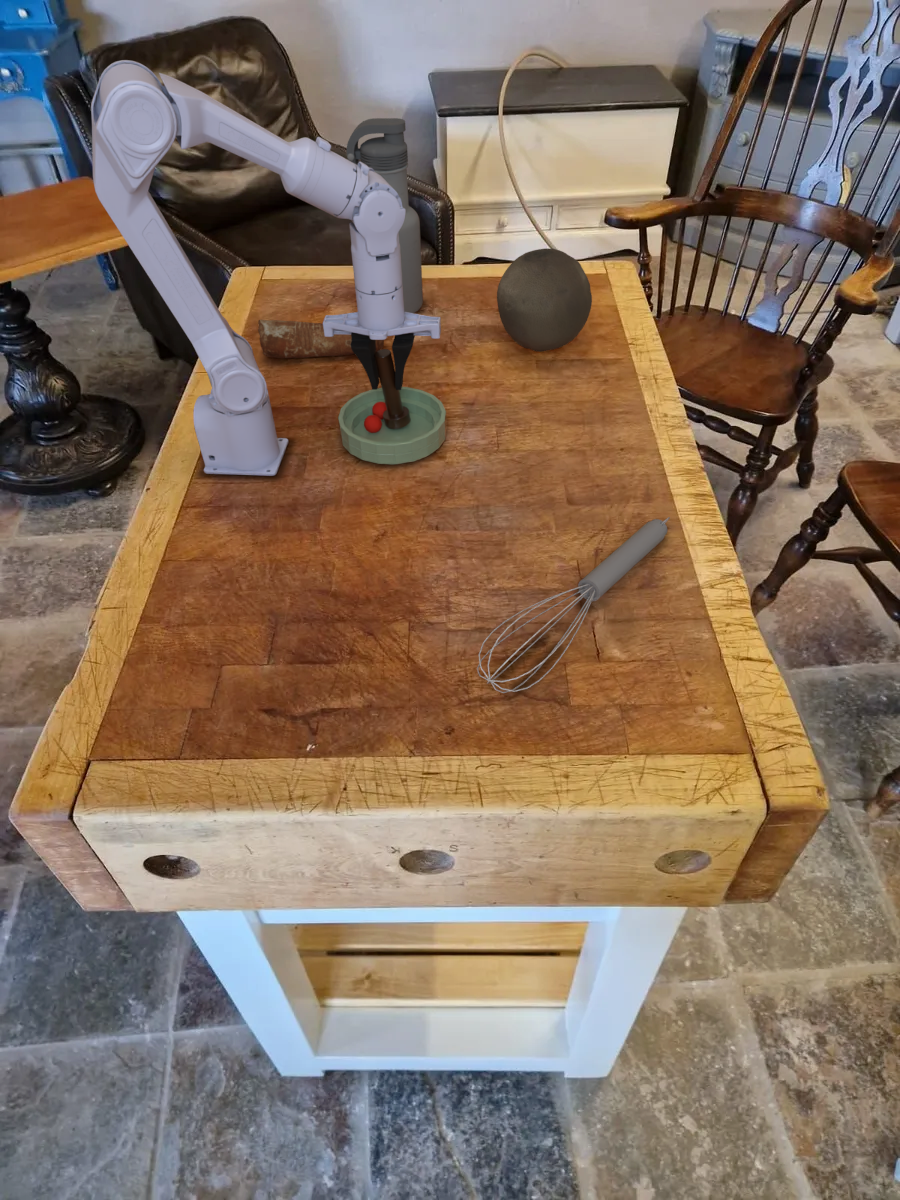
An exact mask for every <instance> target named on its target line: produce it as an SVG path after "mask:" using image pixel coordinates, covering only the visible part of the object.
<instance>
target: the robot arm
mask: <svg viewBox="0 0 900 1200" xmlns="http://www.w3.org/2000/svg"><path fill="white" fill-rule="evenodd" d="M158 75H159V77H160V79H161V80H162V83H163V84H162V83H161V81H160V79H159V78H158V76H157V75H156V74H155V73H154V72H153V71H152V70H151V69H150V68H148V67H147V66H145V65H144V64H142V63H140V62H138V61H135V60H128V59H121V60H117V61H114V62H112V63H111V64H109V65H108V66H107V67H106V68H105V69H104V70H103V71H102V73H101V75H100V76H99V79H98V82H97V85H96V87H95V91H94V94H93V97H92V99H91V103H90V111H91V114H90V115H91V134H92V135H91V146H92V149H91V150H92V151H91V152H92V153H91V154H92V181H93V186H94V187H93V188H94V191H95V194H96V196H97V198H98V200H99V202H100V203H101V205H102V206H103V208H104V209H105V211H106V212H107V214H108V216H109V217H110V219H111V221H112V222H113V224H114V225H115V227H116V228H117V230H118V231H119V233H120V234H121V236H122V237H123V239H124V241H125V243H126V244H127V245H128V247H129V248H130V250H131V252H132V254H134V256H135V258H136V259H137V261H138V262H139V264H140V265H141V267H142V269H143V270H144V271H145V273H146V275H147V276H148V278H149V279H150V281H151V283H152V284H153V286H154V287H155V289H156V290H157V292H158V293H159V295H160V296H161V298H162V300H163V301H164V302H165V304H166V306H167V307H168V309H169V310H170V312H171V313H172V315H173V317H174V318H175V320H176V321H177V323H178V324H179V326H180V327H181V329H182V330H183V332H184V333H185V335H186V336H187V338H188V339H189V341H190V343H191V344H192V346H193V348H194V350H195V352H196V355H197V357H198V359H199V361H200V363H201V365H202V367H203V369H204V370H205V372H206V374H207V377H208V380H209V383H210V386H211V389H210V393H209V394H202V395H199V396H198V397H197V398H196V400H195V403H194V407H193V417H192V418H193V427H194V431H195V435H196V439H197V442H198V445H199V449H200V452H201V456H202V459H203V463H204V468H203V472H204V474H207V475H209V474H210V475H241V476H267V477H274V476H277V473H278V471H279V468H280V465H281V463H282V460H283V458H284V455H285V453H286V450H287V447H288V444H289V439H288V438H286V437H278V434H277V429H276V425H275V420H274V414H273V409H272V405H271V399H270V394H269V390H268V385H267V382H266V379H265V376H264V375H263V373H262V372H261V370H260V367H259V366H258V362H257V361H256V359H255V355H254V351H253V348H252V346H251V344H250V342H249V341H248V340H247V339H246V338H245V337H243V335H240V334H239V333H237V332H236V331H235V330H234V329H233V328H232V327H231V325H230V324H229V322H228V320H227V319H226V318H225V317H224V315H222V313H221V311H220V310H219V308H218V306H217V304H216V303H215V301H214V299H213V298H212V296H211V294H210V292H209V291H208V290H207V288H206V286H205V284H204V282H203V281H202V279H201V278H200V276H199V273H198V272H197V271H196V269H195V267H194V266H193V264H192V262H191V261H190V259H189V257H188V256H187V254H186V252H185V250H184V249H183V247H182V246H181V245H182V244H181V243H180V242H179V240H178V239H177V237H176V235H175V233H174V232H173V230H172V228H171V226H170V225H169V224H168V221H167V220H166V219H165V216H164V215H163V213H162V212H161V210H160V208H159V206H158V205H157V203H156V201H155V200H154V198H153V196H152V195H151V193H150V192H149V189H150V186H151V183H152V179H153V176H154V174H155V173H154V172H155V170H156V166H157V165H158V164H159V163H160V162H161V161H162V159H163V158H164V157H165V156H166V154H167V153H168V152H169V150H170V149H171V147H172V146H173V144H174V142H175V140H176V141H177V143H178V145H179V147H180V149H181V150H187V149H190V148H193V147H196V146H198V145H202V144H205V143H209V144H212V145H214V146H216V147H219V148H221V149H224V150H225V151H227V152H229V153H231V154H233V155H235V156H236V155H237V156H238V157H240V158H242V159H245V160H247V161H249V162H252V163H253V164H255V165H258V166H259V167H262V168H264V169H266V170H268V171H271V172H272V173H275V174H277V175H279V177H280V181H281V183H282V186H283V188H284V190H285V192H286V193H287V194H289V195H291V196H292V197H295V198H297V199H299V200H301V201H303V202H305V203H306V204H309V205H311V206H313V207H314V208H317V209H319V210H321V211H323V212H325V213H327V214H329V215H331V216H333V217H335V218H337V219H340V220H341V219H343V220H350V221H351V222H350V223H349V233H350V234H349V235H350V242H351V243H350V244H351V245H350V252H351V261H352V270H353V271H352V273H353V281H354V290H355V299H356V311H355V312H348V313H341V314H340V313H339V314H326V315H325V316H324V318H323V321H322V324H323V328H324V335H325V337H332V336H334V334H346V335H351V337H352V338H351V349H352V351H353V352H354V354H353V355H355V356H356V358H357V359H358V361H359V362H360V364H361V365H362V367H363V369H364V372H365V373H366V376H367V378H368V381H369V383H370V386H371V387H370V388H371V390H372V389H373V390H377V388H379V384H380V379H379V374H378V370H377V366H376V362H375V357H374V354H375V352H376V340H384V341H385V340H387V338H388V337H392V336H393V337H394V338H393V341H392V344H391V350H392V358H393V364H394V369H395V386H396V390H401V389H402V387H403V385H404V373H405V368H406V364H407V361H408V358H409V356H410V354H411V351H412V349H413V346H414V342H415V338H416V337H430V338H431V339H433V340H434V339H436V340H437V339H440V338H441V334H442V323H441V322H442V321H441V316H430V315H424V314H418V313H409V312H404V301H403V285H402V269H401V254H400V244H399V230H400V229H401V227H402V225H403V223H404V219H405V213H406V210H405V208H403V207H402V202H401V199H400V197H399V196H398V193H397V192H396V191H395V190H394V189H393V188H392V187H391V186H390V185H389V184H388V183H387V182H386V180H385V179H384V178H383V177H382V176H380V175H379V174H377V173H376V172H375V171H374V170H373V169H372V168H369V167H368V166H367V165H366V164H364V163H362V162H361V161H359V163H358V165H356V164H354V163H352V162H351V161H349V160H348V159H347V158H345V157H344V156H341V155H340V154H338V153H336V152H334V151H332V150H331V148H332V145H331V143H329V141H328V140H325V139H324V138H322V137H320V136H317V137H316V139H315V140H313V139H311V138H309V137H305V136H304V137H301V138H298V139H295V140H293V141H286V140H285V139H283V138H282V137H280V136H279V135H276V134H275V133H273V132H271V131H269V130H268V129H266V128H265V127H263V126H261V125H259V124H258V123H256V122H254V121H252V120H251V119H249V118H248V117H246V116H244V115H242V114H241V113H239V112H237V111H236V110H234V109H232V108H230V107H228V106H227V105H225V104H224V103H222V102H220V101H218V100H216V99H215V98H214V97H211V95H208V94H206V93H205V92H203V91H201V90H199V89H198V88H195V87H193V86H191V85H189V84H188V83H185V82H183V81H182V80H179V79H176V78H175V77H173V76H171V75H167V74H166V73H165V74H164V73H161V72H158Z"/></svg>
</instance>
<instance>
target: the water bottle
mask: <svg viewBox="0 0 900 1200" xmlns="http://www.w3.org/2000/svg"><path fill="white" fill-rule="evenodd" d="M406 128H407V127H406V120H405V119H403V118H398V117H396V118H395V117H391V118H390V117H389V118H387V117H386V118H381V117H379V118H378V117H377V118H376V117H375V118H368V119H366V120H363V121H362V122H359V124H358V125H356V127H355V128H354V130H353V131H352V133H351V135H350V137H349V138H348V140H347V143H346V159H347V160H349V161H351V162H352V163H354V164H356V165H358V163H359V162H362V163H364V164H366V165H367V166H368V167H369V168H372V169H373V170H374V171H375V172H376V173H377V174H379V175H380V176H382V177H383V178H384V179H385V180H386V182H387V183H388V184H389V185H390V186H391V187H392V188H393V189H394V190H395V191H396V192H397V193H398V196H399V197H400V199H401V202H402V207H403V208H405V210H406V213H405V219H404V223H403V225H402V227H401V229H400V230H399V244H400V254H401V269H402V285H403V301H404V312H409V313H414V314H416V313H417V312H419V310H420V309H421V308H422V306H423V303H424V293H423V271H422V270H423V269H422V248H421V223H420V222H421V221H420V216H419V215H418V213H417V211H416V210H415V209H414V208H412V206H410V204H409V189H408V186H409V185H408V171H407V170H408V169H407V168H408V167H409V163H408V162H409V158H408V157H409V156H408V155H409V154H408V144H407V143H406V141H405V133H404V132H406ZM374 134H383V136H376V137H372V138H368V139H366V140H365V141H364V142H362V143H361V144H360V146H359V141H360V139H361V138H363V137H365V136H368V135H374ZM359 160H360V161H359Z"/></svg>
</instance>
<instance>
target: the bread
mask: <svg viewBox="0 0 900 1200" xmlns="http://www.w3.org/2000/svg"><path fill="white" fill-rule="evenodd" d="M257 325H258V329H257V332H258V334H259V343H260V347H261V350H262V354H263V355H264V356H265V357H268V358H272V359H300V358H302V359H303V358H313V357H314V358H317V357H341V356H351V355H355V354H354V352H353V351H352V349H351V338H352V337H351V335H346V334H334V336H332V337H325V335H324V328H323V322H322V323H320V322H306V321H295V320H282V319H281V320H280V319H258V322H257ZM384 344H385V340H376V352H377V351H379V350H382V349H384Z"/></svg>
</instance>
